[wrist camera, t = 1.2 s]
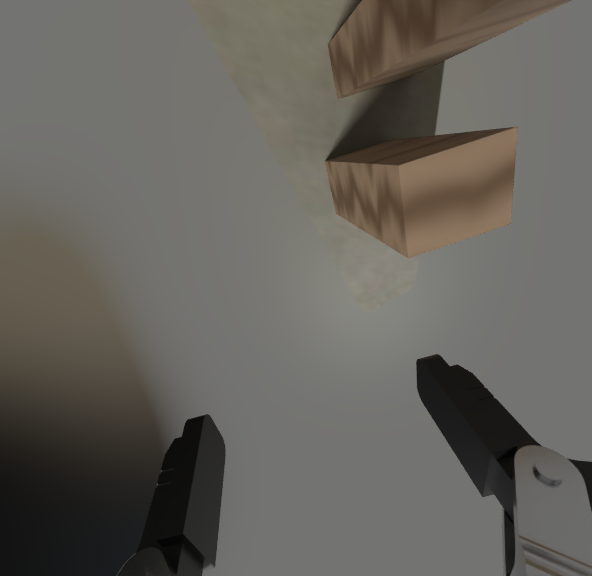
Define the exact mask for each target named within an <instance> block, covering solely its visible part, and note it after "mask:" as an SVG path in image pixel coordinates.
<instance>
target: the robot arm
mask: <svg viewBox="0 0 592 576" xmlns="http://www.w3.org/2000/svg"><path fill="white" fill-rule="evenodd" d="M416 365H417V389H418V393H419V396H420V398H421V400H422V402H423V404H424V406H425V407H426V408H427V410H428V412H429V413H430V415H431V417H432V418H433V420H434V421H435V423H436V425H437V426H438V428H439V429H440V431H441V432H442V434H443V436H444V437H445V439H446V440H447V442H448V443H449V445H450V447H451V448H452V450H453V451H454V453H455V454H456V456H457V457H458V459H459V461H460V462H461V464H462V465H463V467H464V469H465V470H466V472H467V473H468V475H469V476H470V478H471V480H472V481H473V483H474V484H475V486H476V487H477V489H478V490H479V492H480V494H481V495H482V497H485V496H489V495H492V494H494V495H495V496H496V498H497V499H498V501H499V502H500V504H501V505H502V550H503V551H502V552H503V576H592V462H587V461H577V460H571V459H567V458H565V457H564V456H562V455H561V454H559V453H557V452H555V451H553V450H551V449H548V448H545V447H542V446H541V445H540V444H539V443H537V442H536V441H535V440H534V439H533V438H532V437H531V436H530V435H529V434H528V433H527V431H525V429H524V428H523V427H522V426H521V425H520V424H519V423H518V422H517V421H516V420H515V419H514V418H513V416H512V415H511V414H510V413H509V412H508V411H507V410H506V409H505V408H504V407H503V406H502V405H501V404H500V402H499V401H498V400H497V399H495V398H494V397H493V395H492V394H491V393H490V392H489V391H488V389H487V388H485V387H484V385H483V384H482V383H481V382H480V381H479V380H478V379H477V378H476V377H475V376H474V374H473V373H471V372H469V371H468V370H466V369H464V368H463V367H461V366H459V365H454V366H449V365H448V364H447V363H446V362H445V360H444V359H443V358H442V357H441V356H440V355H438V354H436V355H432V356H428V357H424V358H421V359H417V362H416ZM224 465H225V444H224V440H223V437H222V436H221V434H220V432H219V431H218V429H217V427H216V425H215V424H214V422H213V420H212V418H211V417H210V415H208V414H207V415H203V416H199V417H195V418H191V419H188V420H187V421H186V423H185V426H184V430H183V434H182V437H180V438H176V439H174V441H173V443H172V444H171V446H170V447H169V449H168V451H167V452H166V454H165V457H164V460H163V464H162V468H161V474H159V478H158V481H157V488H155V492H154V495H153V499H152V502H151V506H150V509H149V513H148V516H147V520H146V523H145V527H144V531H143V534H142V537H141V541H140V544H139V547H138V549H137V552H136V554H134V555H133V556H132V557H131V558H130V559H129V560H128V561H127V562H126V563H125V564H124V566H123V567H122V568H121V570H120V572H119V573H118V575H117V576H202V571H204V570H207V569H211V568H215V560H216V551H217V540H218V529H219V518H220V507H221V497H222V486H223V476H224Z"/></svg>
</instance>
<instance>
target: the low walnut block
mask: <svg viewBox="0 0 592 576" xmlns="http://www.w3.org/2000/svg"><path fill="white" fill-rule="evenodd" d="M516 142H517V127H511V128H501V129H492V130H483V131H473V132H465V133H455V134H445V135H436V136H426V137H417V138H408V139H398V140H389V141H386V142H383V143H380V144H377V145H373V146H370V147H367V148H364V149H361V150H358V151H355V152H352V153H349V154H346V155H342V156H339V157H336V158H333V159H330V160H327V161H325V163H326V168H327V172H328V177H329V182H330V186H331V191H332V196H333V200H334V205H335V210H336V214H337V215H339V216H341V217H342V218H344V219H346V220H347V221H349V222H350V223H352V224H354V225H355V226H357V227H358V228H360V229H362V230H363V231H365V232H367V233H368V234H370V235H371V236H373V237H375V238H376V239H378V240H380V241H381V242H383V243H384V244H386V245H388V246H389V247H391V248H392V249H394V250H396V251H397V252H399V253H401V254H402V255H404V256H405V257H407V258H411V257H414V256H416V255H419V254H422V253H425V252H428V251H431V250H434V249H437V248H440V247H443V246H446V245H449V244H452V243H455V242H458V241H461V240H464V239H467V238H470V237H473V236H476V235H479V234H482V233H485V232H488V231H491V230H494V229H497V228H500V227H503V226H505V225H509V224H511V214H512V200H513V185H514V171H515V156H516Z"/></svg>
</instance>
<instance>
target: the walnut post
mask: <svg viewBox="0 0 592 576" xmlns="http://www.w3.org/2000/svg"><path fill="white" fill-rule="evenodd" d="M569 1H571V0H362V1H361V2H360V4H359V5H358V6H357V7H356V9H355V10H354V11H353V13H352V14H351V15H350V17H349V18H348V19H347V21H346V22H345V23H344V24H343V26H342V27H341V28H340V30H339V31H338V32H337V34H336V35H335V36H334V38H333V39H332V40H331V41H330V43H329V44H328V48H329V53H330V59H331V65H332V70H333V76H334V81H335V87H336V92H337V98H338V99H340V98H343V97H346V96H349V95H353V94H356V93H359V92H362V91H365V90H368V89H372V88H375V87H378V86H381V85H384V84H387V83H391V82H394V81H397V80H400V79H403V78H406V77H410V76H413V75H415V74H417V73H419V72H421V71H423V70H426V69H428V68H430V67H432V66H434V65H436V64H438V63H440V62H442V61H445V60H447V59H449V58H451V57H453V56H455V55H457V54H459V53H461V52H463V51H466V50H468V49H470V48H472V47H474V46H476V45H478V44H480V43H482V42H484V41H487V40H489V39H491V38H493V37H495V36H497V35H499V34H501V33H504V32H506V31H508V30H510V29H512V28H514V27H516V26H518V25H520V24H523V23H525V22H527V21H528V20H531V19H533V18H535V17H537V16H539V15H541V14H544V13H546V12H548V11H550V10H552V9H554V8H556V7H558V6H560V5H563V4H565V3H567V2H569Z"/></svg>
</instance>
